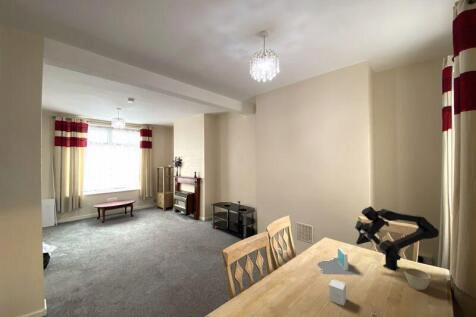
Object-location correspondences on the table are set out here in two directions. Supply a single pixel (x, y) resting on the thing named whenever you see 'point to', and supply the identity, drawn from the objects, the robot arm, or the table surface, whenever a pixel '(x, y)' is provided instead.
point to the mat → (336, 268)
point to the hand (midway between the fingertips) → (356, 244)
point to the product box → (337, 292)
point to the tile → (343, 258)
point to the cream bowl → (417, 278)
